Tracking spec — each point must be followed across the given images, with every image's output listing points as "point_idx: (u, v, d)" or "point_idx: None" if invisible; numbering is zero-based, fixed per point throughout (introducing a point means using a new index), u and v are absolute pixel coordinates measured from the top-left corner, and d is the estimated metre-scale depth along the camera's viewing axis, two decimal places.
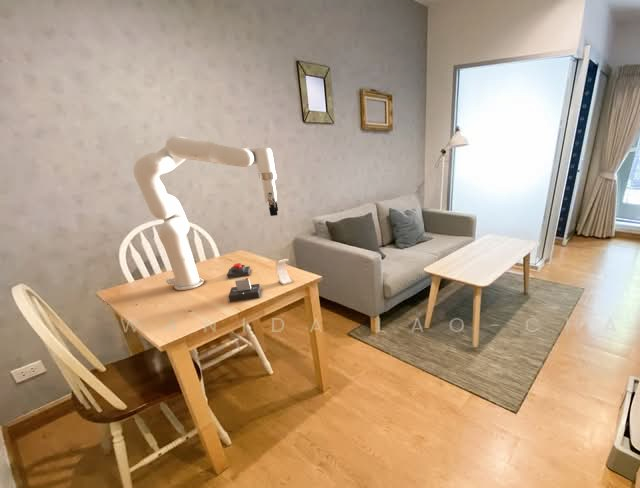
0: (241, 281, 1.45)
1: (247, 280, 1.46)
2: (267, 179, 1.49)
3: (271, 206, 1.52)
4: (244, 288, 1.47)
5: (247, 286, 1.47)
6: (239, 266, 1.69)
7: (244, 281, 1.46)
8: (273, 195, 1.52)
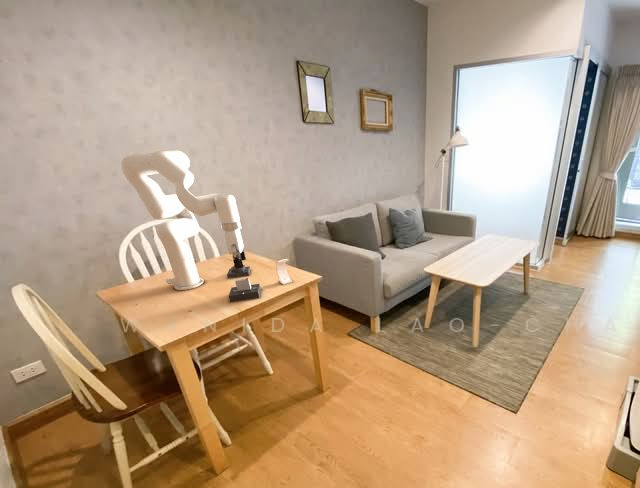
0: (241, 281, 1.45)
1: (247, 280, 1.46)
2: (230, 230, 1.34)
3: (235, 259, 1.36)
4: (244, 288, 1.47)
5: (247, 286, 1.47)
6: None
7: (244, 281, 1.46)
8: (237, 246, 1.36)
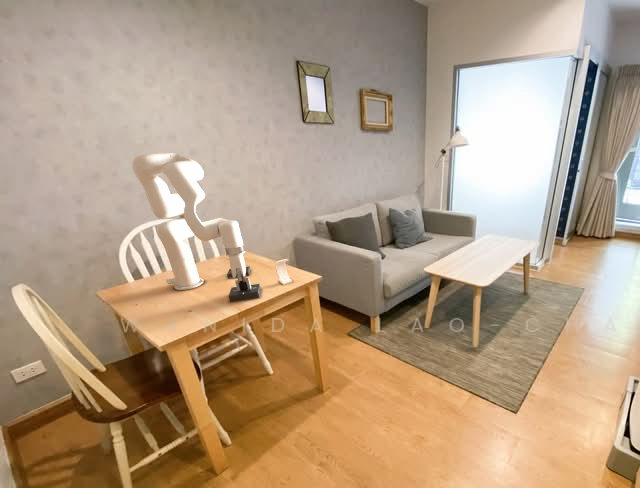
0: None
1: (247, 280, 1.46)
2: (234, 254, 1.37)
3: (240, 282, 1.43)
4: None
5: (247, 286, 1.47)
6: None
7: None
8: (241, 270, 1.40)
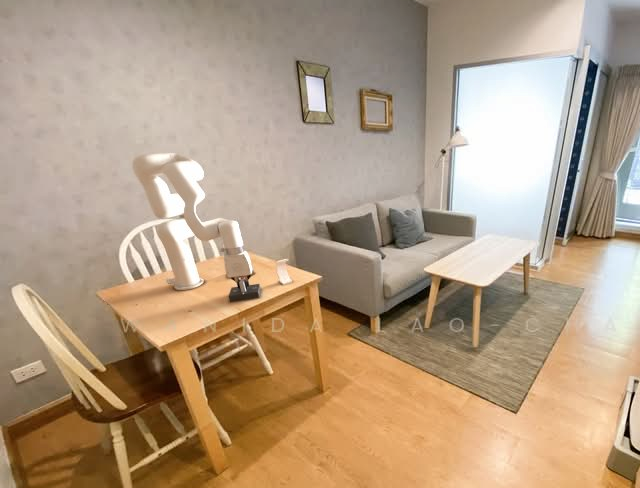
0: (244, 280, 1.46)
1: (244, 278, 1.48)
2: (244, 251, 1.41)
3: (248, 279, 1.46)
4: None
5: None
6: None
7: (244, 279, 1.47)
8: None
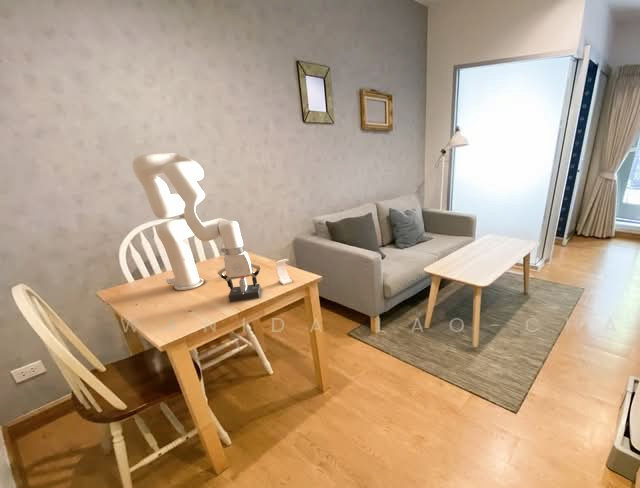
0: (244, 280, 1.46)
1: (244, 278, 1.48)
2: (244, 251, 1.41)
3: (256, 275, 1.47)
4: (246, 287, 1.48)
5: (246, 284, 1.49)
6: None
7: (244, 279, 1.47)
8: None
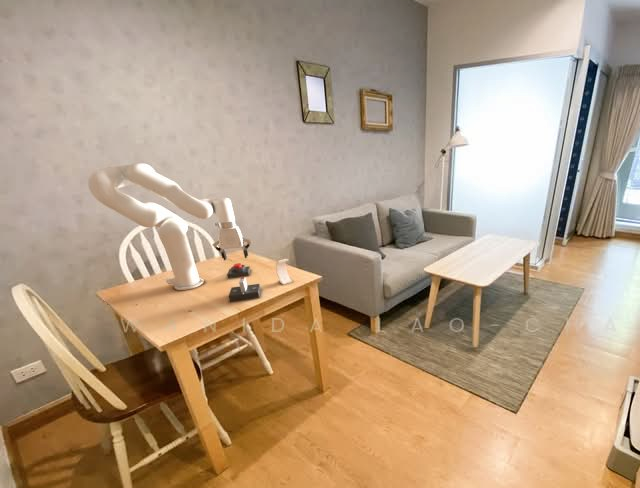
0: (244, 280, 1.46)
1: (244, 278, 1.48)
2: (236, 225, 1.58)
3: None
4: (246, 287, 1.48)
5: (246, 284, 1.49)
6: (239, 266, 1.69)
7: (244, 279, 1.47)
8: None
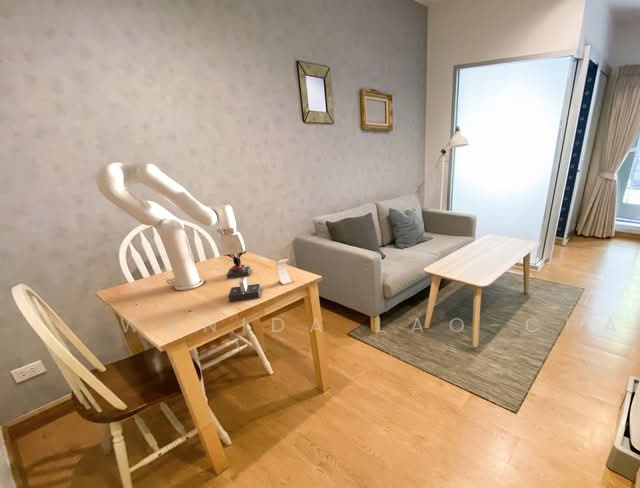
0: (244, 280, 1.46)
1: (244, 278, 1.48)
2: (237, 231, 1.63)
3: None
4: (246, 287, 1.48)
5: (246, 284, 1.49)
6: (239, 267, 1.69)
7: (244, 279, 1.47)
8: None
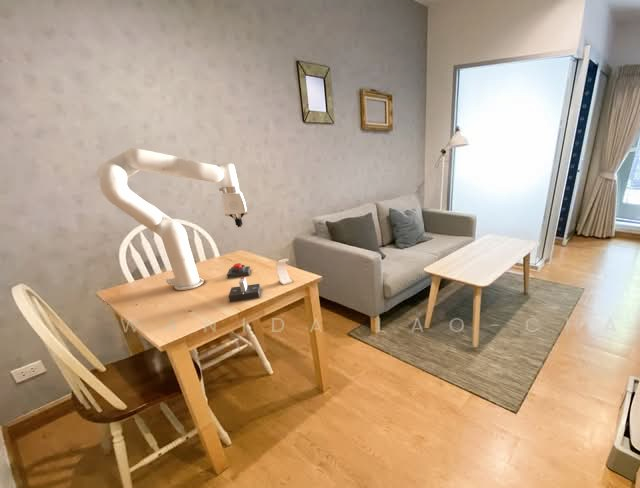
0: (244, 280, 1.46)
1: (244, 278, 1.48)
2: (239, 191, 1.64)
3: (241, 217, 1.68)
4: (246, 287, 1.48)
5: (246, 284, 1.49)
6: (239, 266, 1.69)
7: (244, 279, 1.47)
8: (245, 204, 1.68)
